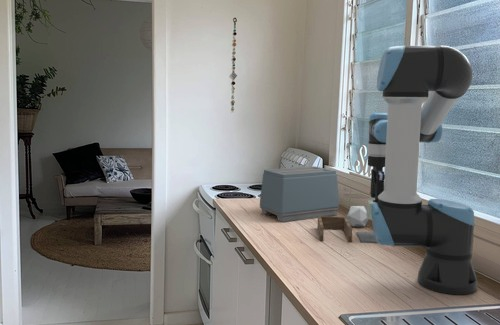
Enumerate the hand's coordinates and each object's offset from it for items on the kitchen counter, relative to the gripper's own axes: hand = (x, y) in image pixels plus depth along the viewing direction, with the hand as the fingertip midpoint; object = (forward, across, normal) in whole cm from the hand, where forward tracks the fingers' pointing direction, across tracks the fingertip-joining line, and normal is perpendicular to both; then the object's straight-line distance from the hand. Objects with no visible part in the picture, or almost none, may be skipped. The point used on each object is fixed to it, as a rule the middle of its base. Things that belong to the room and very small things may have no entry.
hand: (375, 216), depth 173 cm
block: (0, 0, 0) cm, 0 cm away
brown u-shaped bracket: (+8, +3, +15) cm, 17 cm away
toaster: (+9, +36, +26) cm, 45 cm away
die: (+9, +18, +4) cm, 20 cm away
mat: (+8, 0, 0) cm, 8 cm away
